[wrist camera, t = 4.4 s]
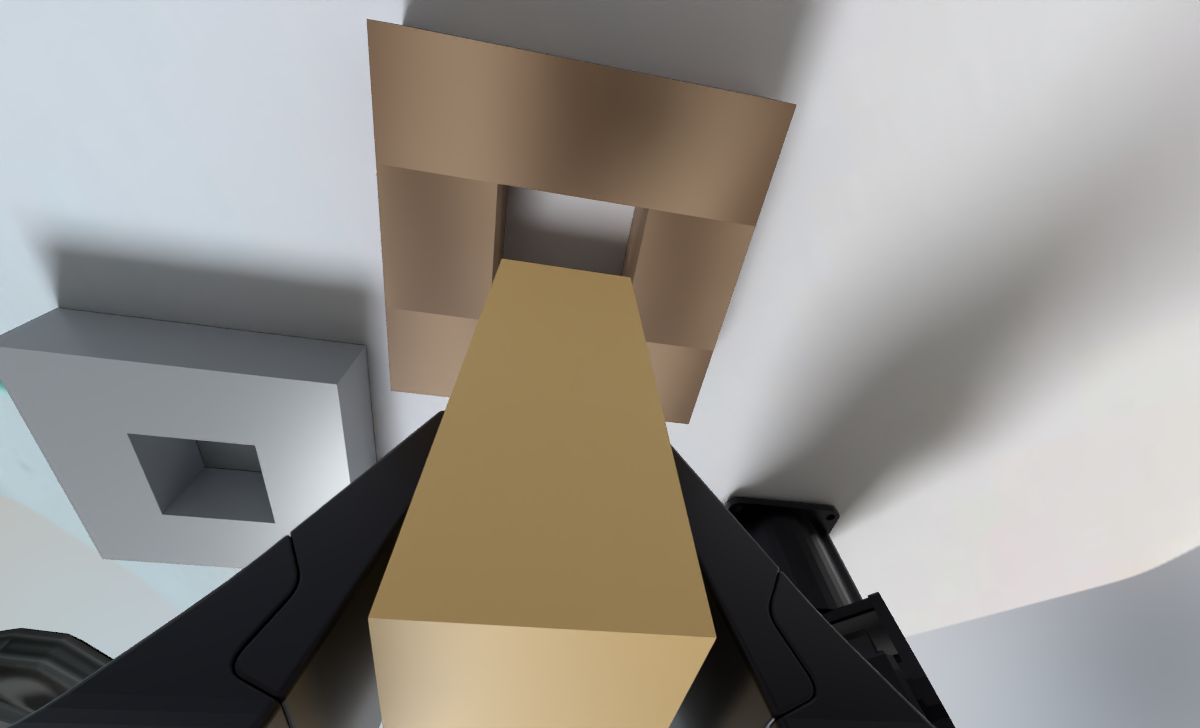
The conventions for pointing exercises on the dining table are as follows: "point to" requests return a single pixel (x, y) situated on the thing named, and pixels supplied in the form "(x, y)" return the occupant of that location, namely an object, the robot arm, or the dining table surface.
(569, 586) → the ochre pin
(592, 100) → the walnut mount
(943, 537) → the dining table surface
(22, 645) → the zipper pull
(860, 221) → the dining table surface
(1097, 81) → the dining table surface
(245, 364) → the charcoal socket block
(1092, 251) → the dining table surface
